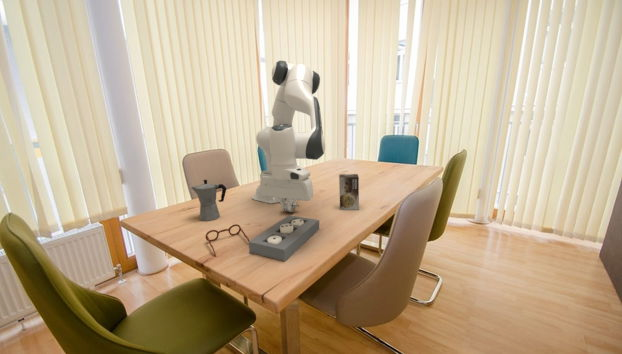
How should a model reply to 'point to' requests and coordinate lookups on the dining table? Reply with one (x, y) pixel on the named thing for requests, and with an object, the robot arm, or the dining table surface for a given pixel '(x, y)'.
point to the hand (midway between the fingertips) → (286, 209)
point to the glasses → (223, 231)
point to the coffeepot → (209, 200)
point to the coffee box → (349, 191)
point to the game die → (291, 205)
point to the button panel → (284, 238)
